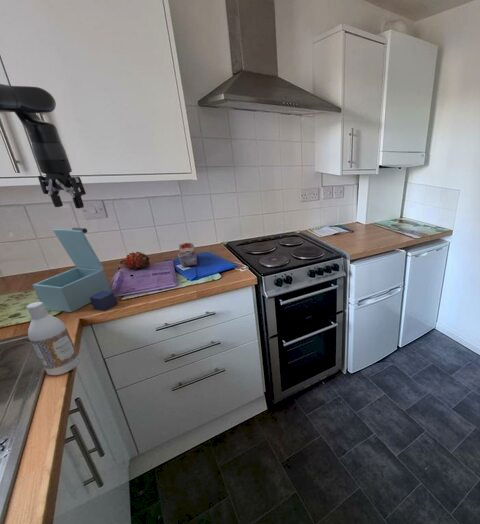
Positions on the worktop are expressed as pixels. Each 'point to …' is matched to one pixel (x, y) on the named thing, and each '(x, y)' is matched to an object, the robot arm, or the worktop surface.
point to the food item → (187, 254)
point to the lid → (78, 247)
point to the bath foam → (51, 341)
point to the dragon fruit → (135, 260)
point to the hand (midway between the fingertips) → (69, 207)
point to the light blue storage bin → (71, 288)
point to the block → (103, 300)
